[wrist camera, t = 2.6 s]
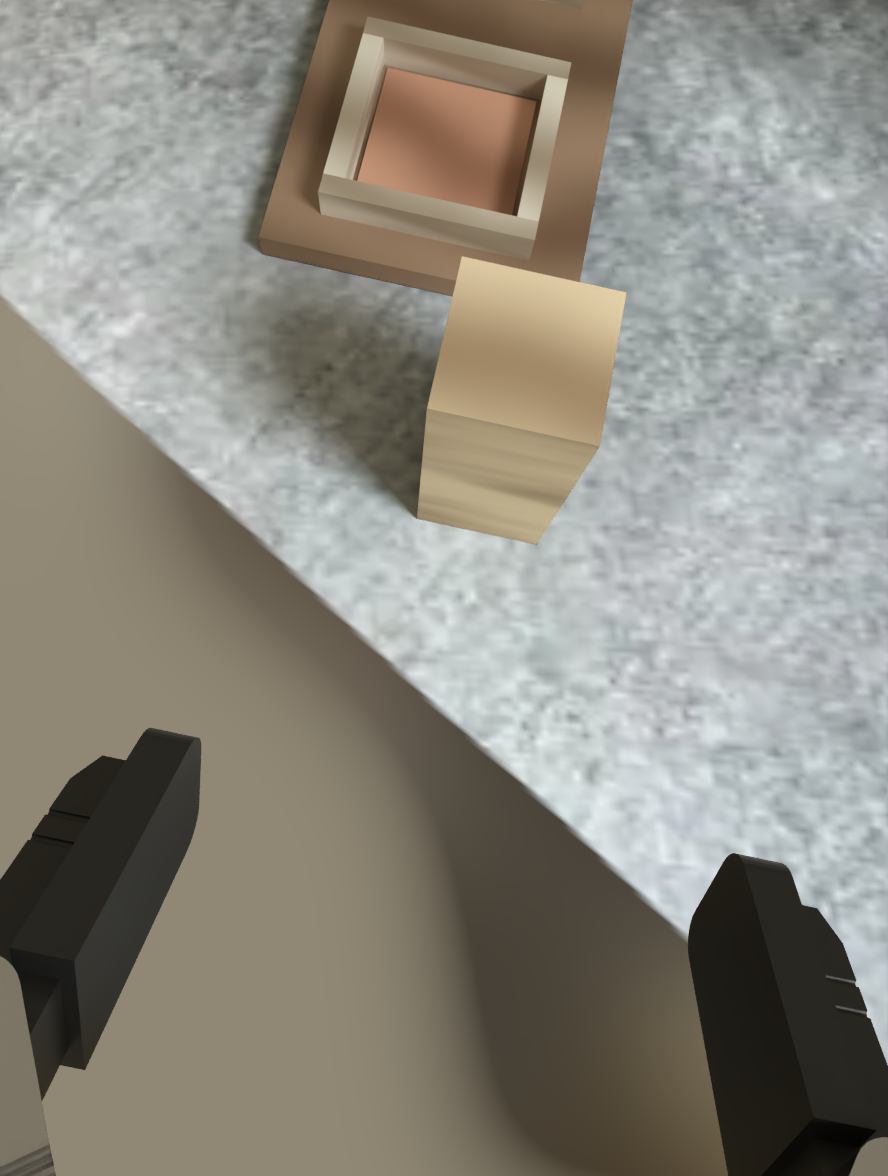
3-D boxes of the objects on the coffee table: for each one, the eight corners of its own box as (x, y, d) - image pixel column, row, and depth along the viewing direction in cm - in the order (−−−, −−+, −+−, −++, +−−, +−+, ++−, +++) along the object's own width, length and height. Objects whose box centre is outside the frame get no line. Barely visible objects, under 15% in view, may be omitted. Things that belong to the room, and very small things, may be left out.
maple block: (441, 408, 29) (461, 256, 21) (557, 433, 30) (626, 292, 21) (416, 518, 28) (427, 408, 20) (536, 544, 29) (599, 446, 20)
